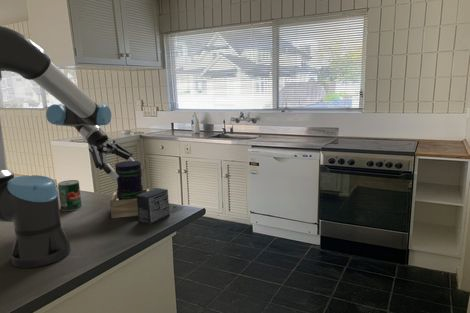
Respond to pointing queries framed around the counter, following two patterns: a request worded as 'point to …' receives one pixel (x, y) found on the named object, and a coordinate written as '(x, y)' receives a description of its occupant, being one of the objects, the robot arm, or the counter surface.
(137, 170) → the blue metal drum
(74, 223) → the counter surface
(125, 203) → the open wooden box
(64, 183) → the canned tomato
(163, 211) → the small box
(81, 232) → the counter surface
